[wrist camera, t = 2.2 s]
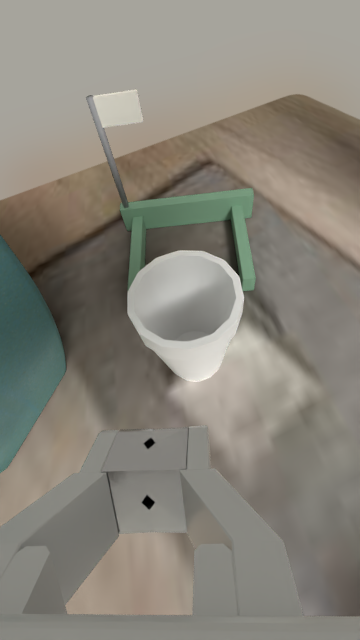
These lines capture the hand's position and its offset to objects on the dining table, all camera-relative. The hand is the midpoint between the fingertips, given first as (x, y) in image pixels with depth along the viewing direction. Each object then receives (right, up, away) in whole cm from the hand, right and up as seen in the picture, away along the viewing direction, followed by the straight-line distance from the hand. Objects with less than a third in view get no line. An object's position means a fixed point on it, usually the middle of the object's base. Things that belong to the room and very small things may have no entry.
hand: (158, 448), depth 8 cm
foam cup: (+2, -1, +27) cm, 27 cm away
